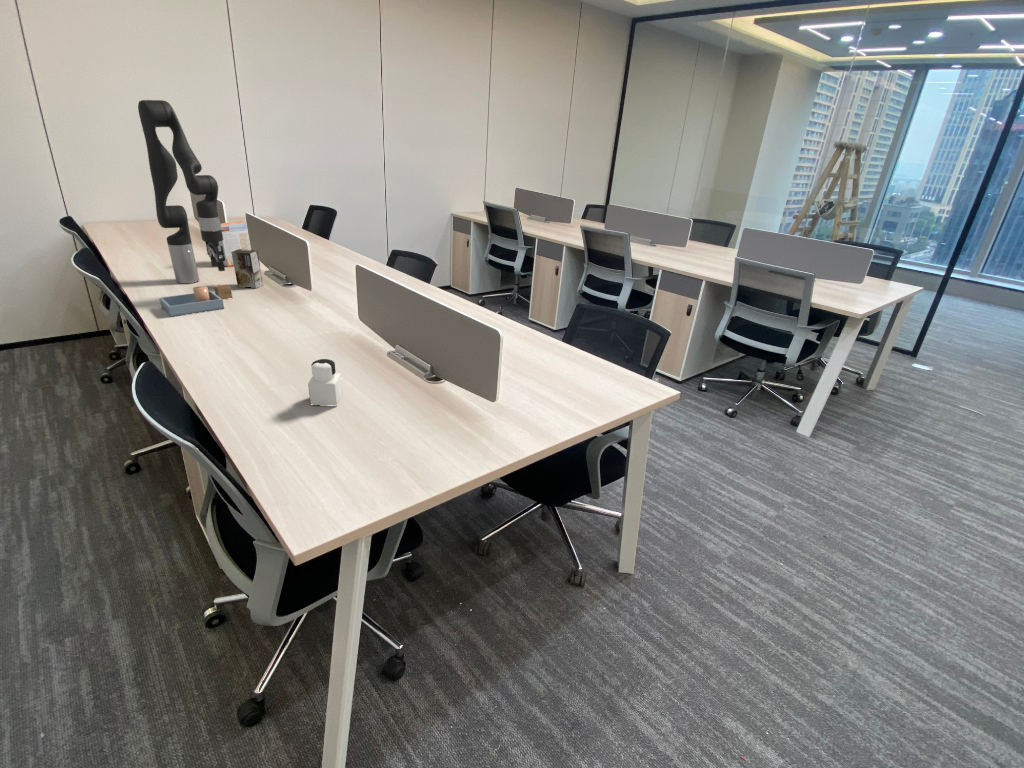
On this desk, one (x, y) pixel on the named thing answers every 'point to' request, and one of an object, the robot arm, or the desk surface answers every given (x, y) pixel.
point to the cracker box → (234, 239)
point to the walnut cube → (223, 291)
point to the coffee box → (247, 268)
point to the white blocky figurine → (324, 383)
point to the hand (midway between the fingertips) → (218, 268)
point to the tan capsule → (201, 294)
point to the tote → (190, 304)
